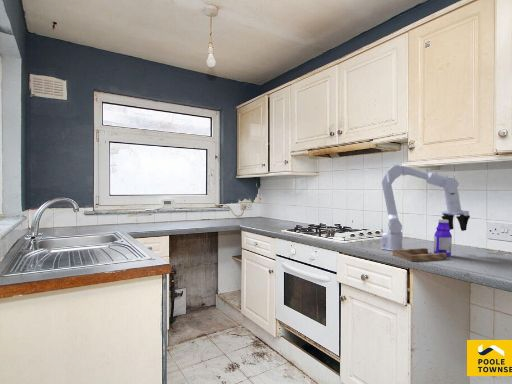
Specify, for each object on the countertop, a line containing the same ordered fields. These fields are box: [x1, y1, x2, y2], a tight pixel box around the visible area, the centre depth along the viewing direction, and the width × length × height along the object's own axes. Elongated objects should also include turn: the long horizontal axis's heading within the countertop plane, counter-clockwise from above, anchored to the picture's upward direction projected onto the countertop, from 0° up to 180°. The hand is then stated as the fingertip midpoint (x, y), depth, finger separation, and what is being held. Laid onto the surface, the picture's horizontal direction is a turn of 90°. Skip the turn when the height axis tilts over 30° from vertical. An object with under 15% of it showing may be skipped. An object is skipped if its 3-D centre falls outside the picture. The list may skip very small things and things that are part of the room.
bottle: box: [433, 218, 453, 257], centre depth 145 cm, size 7×6×17 cm
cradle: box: [392, 247, 447, 262], centre depth 142 cm, size 19×12×2 cm, turn 105°
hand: (457, 230), depth 146 cm, fingers open, 7 cm apart
